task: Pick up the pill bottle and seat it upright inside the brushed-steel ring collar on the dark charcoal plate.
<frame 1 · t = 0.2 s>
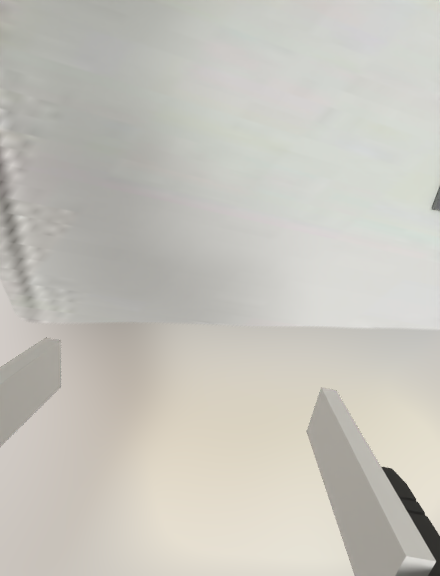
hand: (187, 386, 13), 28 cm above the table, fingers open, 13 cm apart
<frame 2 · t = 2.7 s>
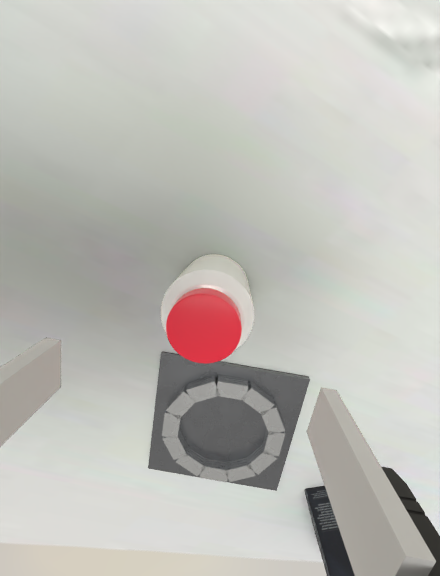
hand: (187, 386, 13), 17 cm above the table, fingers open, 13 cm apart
small box: (332, 510, 38), on the table
ring seat: (223, 423, 34), on the table
pill bottle: (214, 287, 29), on the table
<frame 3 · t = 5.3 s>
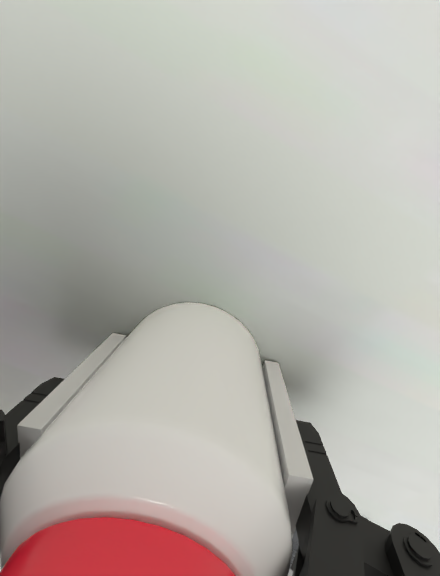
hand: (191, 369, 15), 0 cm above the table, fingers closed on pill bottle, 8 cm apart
pill bottle: (193, 364, 15), on the table, touching gripper
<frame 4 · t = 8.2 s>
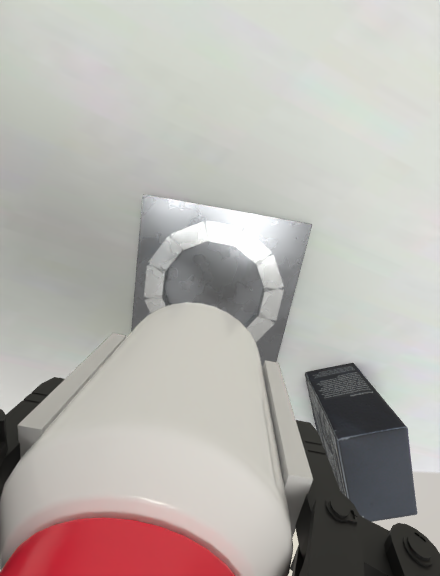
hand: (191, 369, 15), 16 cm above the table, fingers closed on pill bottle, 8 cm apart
small box: (335, 400, 34), on the table
ring seat: (213, 289, 30), on the table
pill bottle: (193, 364, 15), point 16 cm above the table, touching gripper
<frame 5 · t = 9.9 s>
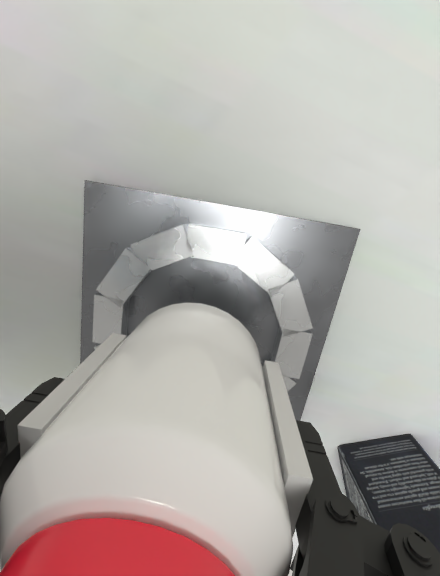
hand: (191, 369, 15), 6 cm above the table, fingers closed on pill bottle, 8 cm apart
small box: (380, 482, 23), on the table
ring seat: (202, 327, 20), on the table
pill bottle: (193, 364, 15), point 5 cm above the table, touching gripper
when the fingers open (3 cm above the table, at t = 11.3 s): pill bottle drops 2 cm, resting on ring seat.
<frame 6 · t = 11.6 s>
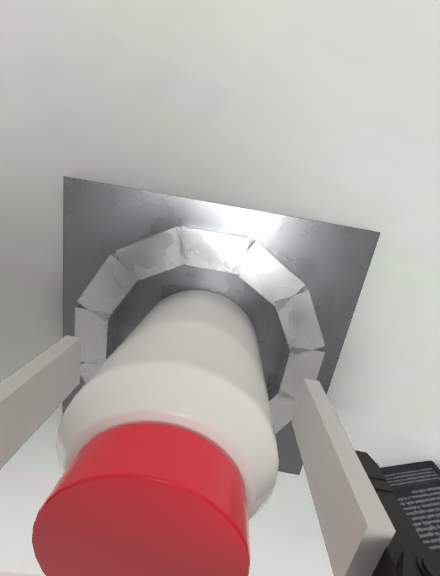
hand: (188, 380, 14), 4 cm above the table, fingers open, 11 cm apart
small box: (396, 512, 21), on the table
ring seat: (199, 342, 18), on the table
pill bottle: (198, 344, 17), resting on ring seat
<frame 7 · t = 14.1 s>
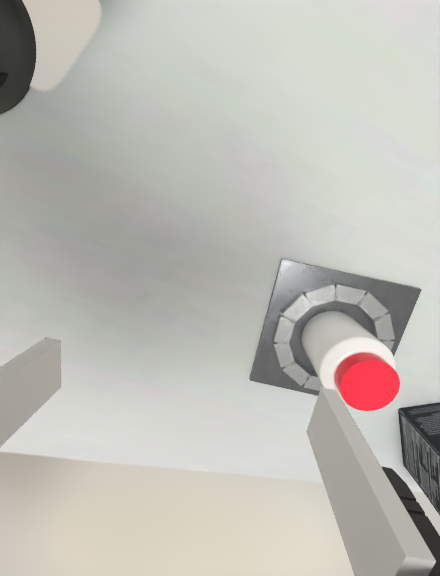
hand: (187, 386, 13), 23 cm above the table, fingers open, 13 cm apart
small box: (422, 433, 39), on the table
ring seat: (328, 336, 36), on the table
pill bottle: (329, 336, 36), resting on ring seat
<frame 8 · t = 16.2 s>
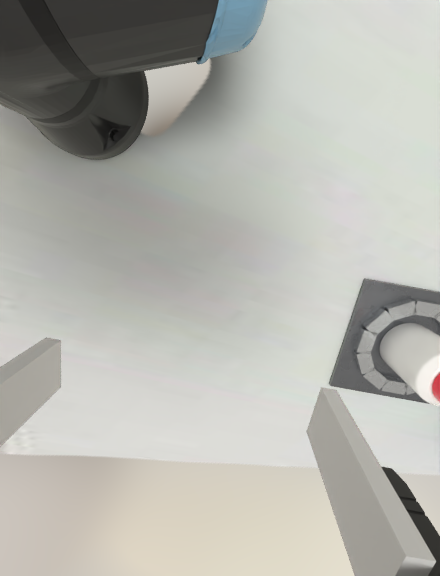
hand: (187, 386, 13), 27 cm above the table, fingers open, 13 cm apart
ring seat: (403, 344, 40), on the table
pill bottle: (404, 345, 40), resting on ring seat
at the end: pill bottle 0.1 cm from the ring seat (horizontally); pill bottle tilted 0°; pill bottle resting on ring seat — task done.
